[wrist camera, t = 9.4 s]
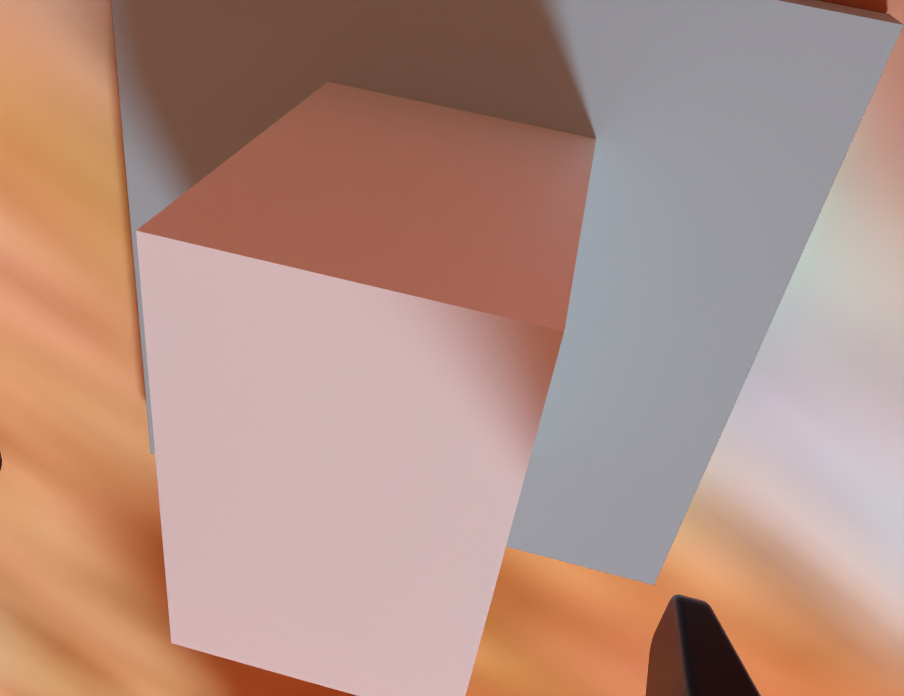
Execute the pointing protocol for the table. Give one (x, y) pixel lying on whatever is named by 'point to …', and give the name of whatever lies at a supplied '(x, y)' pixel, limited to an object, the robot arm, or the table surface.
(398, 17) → the mat
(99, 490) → the table surface
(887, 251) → the table surface
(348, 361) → the block
